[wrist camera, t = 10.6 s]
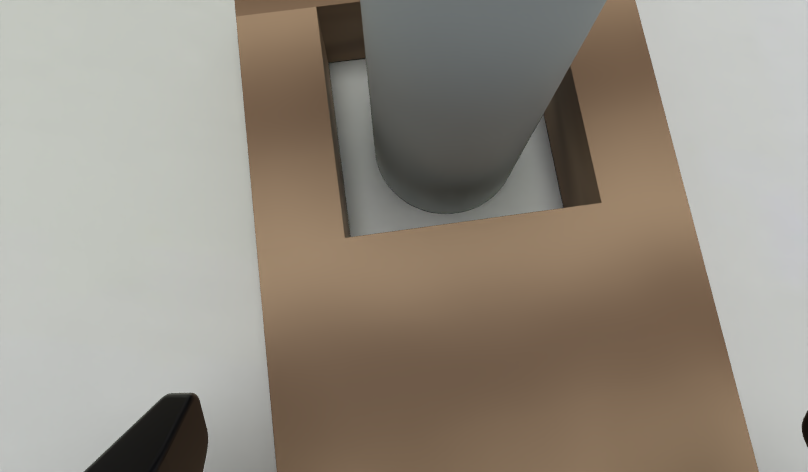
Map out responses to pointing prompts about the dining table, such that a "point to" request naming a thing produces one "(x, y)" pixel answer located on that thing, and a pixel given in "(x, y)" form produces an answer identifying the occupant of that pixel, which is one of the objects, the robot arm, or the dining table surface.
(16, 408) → the dining table surface
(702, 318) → the socket block
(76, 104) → the dining table surface
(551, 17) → the peg
